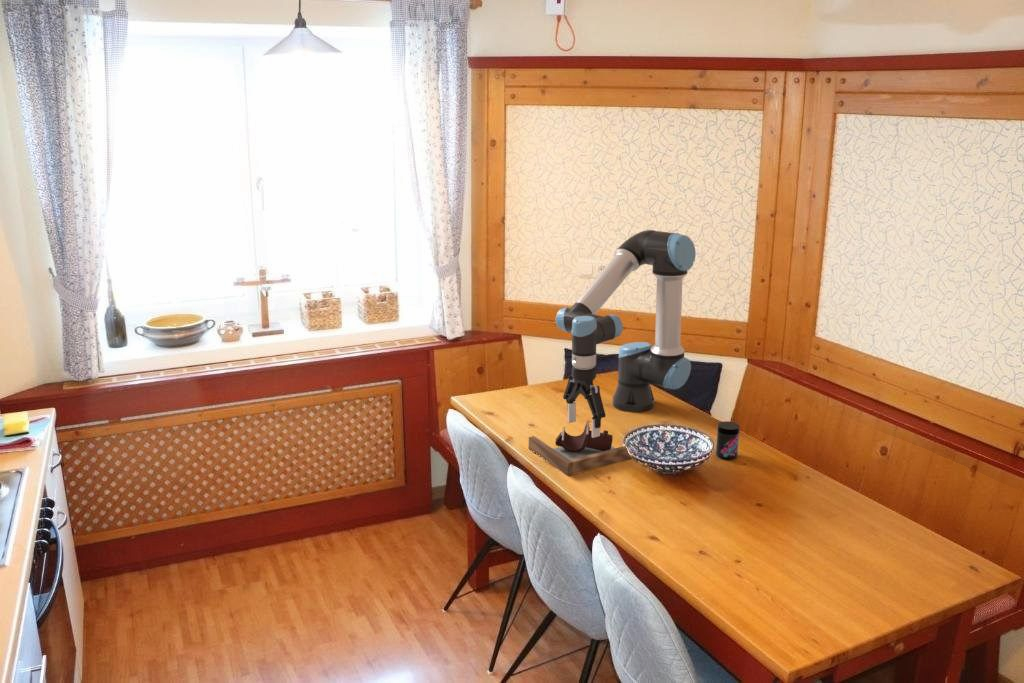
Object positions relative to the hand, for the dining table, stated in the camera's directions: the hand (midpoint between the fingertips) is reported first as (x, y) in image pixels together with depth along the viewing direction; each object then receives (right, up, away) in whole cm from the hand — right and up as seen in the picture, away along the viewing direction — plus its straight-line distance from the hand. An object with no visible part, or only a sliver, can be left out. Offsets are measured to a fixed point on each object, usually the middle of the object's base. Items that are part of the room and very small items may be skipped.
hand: (583, 429), depth 274 cm
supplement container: (+45, -8, -3) cm, 46 cm away
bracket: (0, -7, +1) cm, 7 cm away
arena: (-1, -8, 0) cm, 8 cm away
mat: (0, -7, +2) cm, 7 cm away
